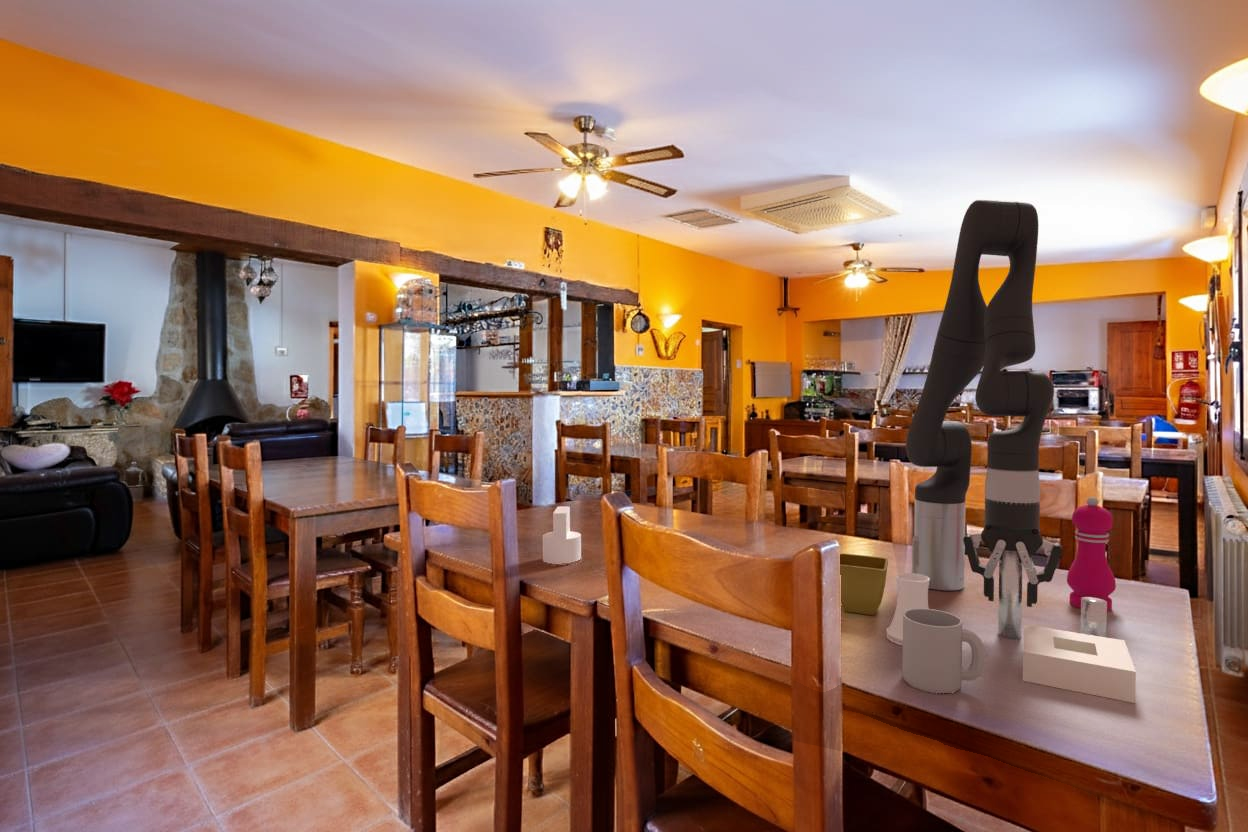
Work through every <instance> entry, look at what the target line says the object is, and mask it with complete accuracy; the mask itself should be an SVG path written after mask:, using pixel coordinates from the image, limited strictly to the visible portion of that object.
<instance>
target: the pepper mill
mask: <svg viewBox="0 0 1248 832" xmlns="http://www.w3.org/2000/svg"><path fill="white" fill-rule="evenodd" d="M1086 503H1087V504H1086V505H1085V504H1084V505H1081V506H1078V507H1077V508H1075V510H1073V513H1072V516H1071V520H1072V524H1073V525H1074V526H1075V528H1076V530H1075V531H1074V533H1075V536H1074V538H1075V539H1076V540H1077V553H1076V555H1075V558H1074V560H1073V561H1072V564H1071V565H1070V567H1069V569H1068V572H1067V576H1066V583H1067V585H1068V586H1069V588H1070V589H1071V590H1072V591H1071V592H1070V593H1069V604H1070V605H1071V606H1073V607H1076V608H1078V609H1081V598H1083V597H1093V598H1098V599H1102V600H1105V601H1106V602H1107V612H1110V611H1111V610H1113V609H1112V608H1113V599H1112V598H1111V597H1109V596H1110V595H1111V594H1113V593H1114V592H1115V591H1116V588H1117V586H1116V585H1117V584H1116V578H1115V575H1114V573H1113V571H1112V569H1111V567H1110V565H1109V562H1108V559H1107V552H1106V549H1107V548H1106V546H1107V543H1108V542H1109V541H1110V539H1109V537H1110V534H1109V533H1108V531H1109V530H1111V528H1112V527H1113V523H1114V519H1113V518H1114V517H1113V515H1112V513H1111V512H1110V511H1109V510H1108V509H1106V508H1105V507H1102V506H1100V505H1099V499H1098V498H1097V497H1095V496H1089V497H1087V498H1086Z"/></svg>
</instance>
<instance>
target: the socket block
mask: <svg viewBox="0 0 1248 832" xmlns="http://www.w3.org/2000/svg"><path fill="white" fill-rule="evenodd" d="M1136 673H1137V672H1136V669H1135V666H1134V663H1133V660H1132V658H1131V655H1130V652H1129V649H1128V647H1127V644H1126V641H1125V639H1118V638H1110V637H1107V636H1106V637H1100V636H1093V635H1087V634H1081V632H1075V631H1067V630H1061V629H1055V628H1049V627H1042V626H1037V625H1030V624H1023V649H1022V682H1027V683H1032V684H1038V685H1042V686H1048V687H1052V688H1058V689H1063V690H1067V691H1071V692H1072V691H1073V692H1076V693H1081V694H1082V693H1083V694H1085V695H1087V694H1088V695H1092V696H1096V697H1097V696H1098V697H1102V698H1107V699H1112V700H1118V701H1122V702H1126V703H1132V704H1136V683H1137V682H1136V677H1137V674H1136Z"/></svg>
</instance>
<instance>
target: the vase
mask: <svg viewBox="0 0 1248 832" xmlns="http://www.w3.org/2000/svg"><path fill="white" fill-rule="evenodd" d="M895 577H896V585H897V596H896V597H897V600H896V604H895V605H896V606H895V611H894V615H893V618H892V621H891V623H890V625H889V626H887V627H886V638H887V640H889V641H890V642H892V643H894V644H896V645H900V646H902V647H903V613H904V611H906V610H910V609H919V608H920V609H930V608H929V588H928V586H929V580H930V578H929V577H927V576H924V575H921V574H915V573H912V572H900V573H897V574H896V575H895Z"/></svg>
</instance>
